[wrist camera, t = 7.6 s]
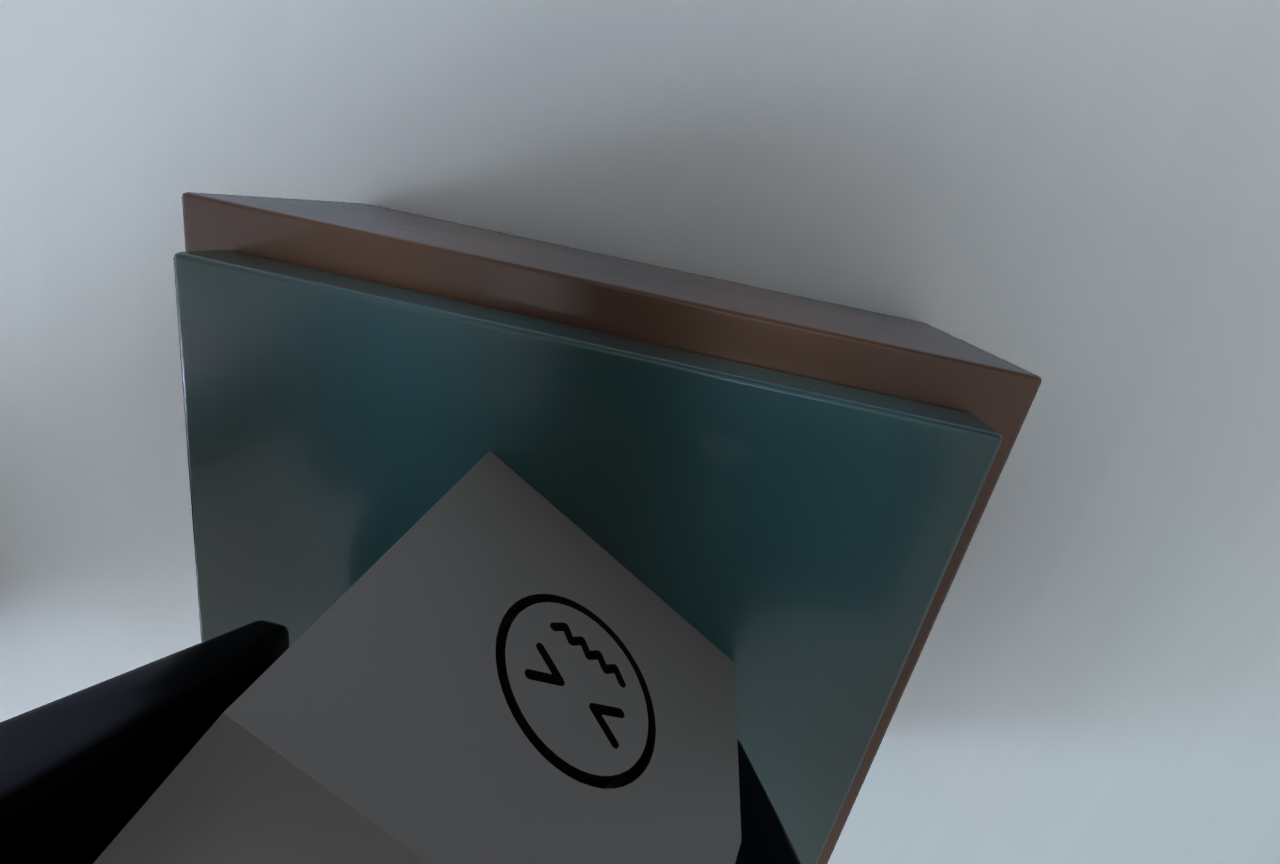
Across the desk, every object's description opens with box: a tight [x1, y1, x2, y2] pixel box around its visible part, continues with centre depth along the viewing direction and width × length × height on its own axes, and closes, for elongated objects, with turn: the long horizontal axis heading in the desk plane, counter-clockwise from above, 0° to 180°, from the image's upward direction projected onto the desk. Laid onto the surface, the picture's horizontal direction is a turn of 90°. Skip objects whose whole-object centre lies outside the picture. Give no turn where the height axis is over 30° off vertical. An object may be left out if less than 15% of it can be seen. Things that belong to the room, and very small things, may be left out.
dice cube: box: [93, 450, 741, 864], centre depth 7 cm, size 5×5×5 cm
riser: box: [173, 192, 1041, 864], centre depth 13 cm, size 13×12×6 cm
